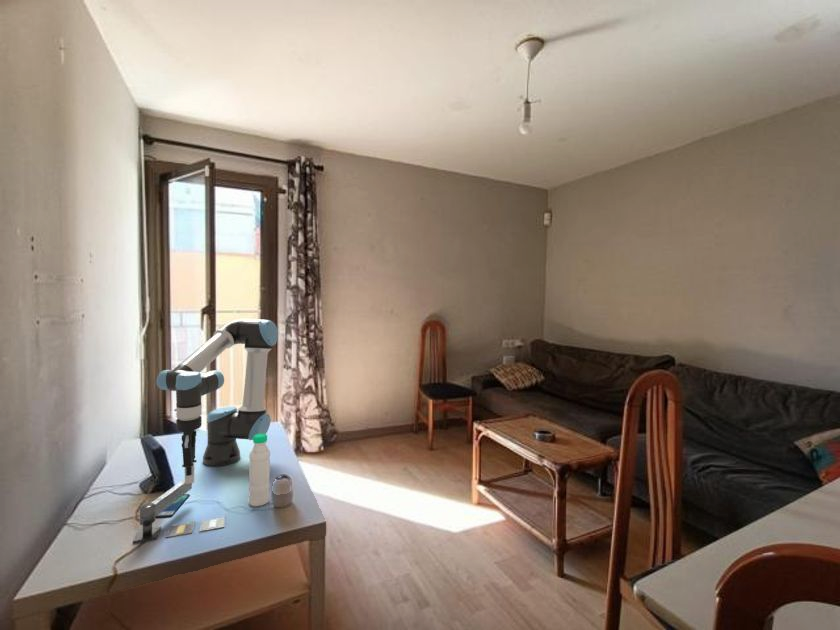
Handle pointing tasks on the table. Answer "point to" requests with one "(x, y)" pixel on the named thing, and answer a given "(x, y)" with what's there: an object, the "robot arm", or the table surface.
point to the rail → (162, 502)
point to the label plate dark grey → (212, 524)
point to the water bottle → (259, 471)
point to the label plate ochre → (180, 529)
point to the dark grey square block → (147, 534)
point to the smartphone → (173, 507)
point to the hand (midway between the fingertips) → (189, 482)
